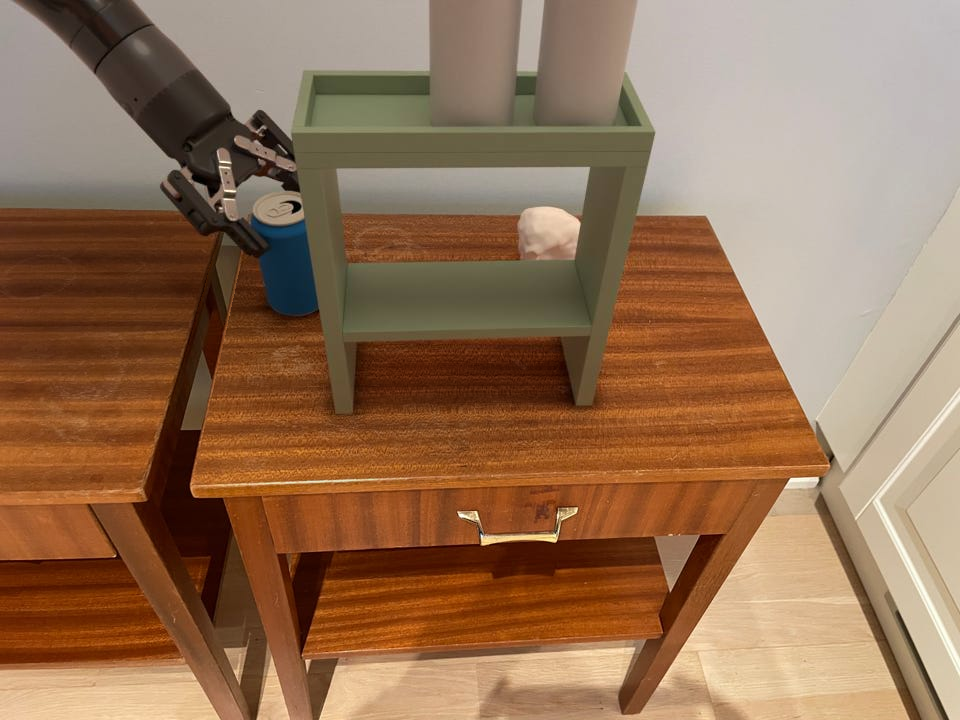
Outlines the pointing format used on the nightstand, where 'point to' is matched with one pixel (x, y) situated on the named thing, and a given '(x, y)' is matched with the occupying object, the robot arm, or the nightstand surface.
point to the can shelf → (413, 143)
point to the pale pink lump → (547, 234)
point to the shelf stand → (473, 286)
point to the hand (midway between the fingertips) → (289, 229)
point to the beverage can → (285, 253)
